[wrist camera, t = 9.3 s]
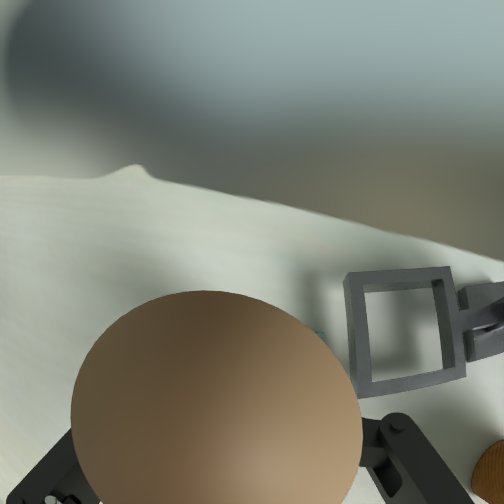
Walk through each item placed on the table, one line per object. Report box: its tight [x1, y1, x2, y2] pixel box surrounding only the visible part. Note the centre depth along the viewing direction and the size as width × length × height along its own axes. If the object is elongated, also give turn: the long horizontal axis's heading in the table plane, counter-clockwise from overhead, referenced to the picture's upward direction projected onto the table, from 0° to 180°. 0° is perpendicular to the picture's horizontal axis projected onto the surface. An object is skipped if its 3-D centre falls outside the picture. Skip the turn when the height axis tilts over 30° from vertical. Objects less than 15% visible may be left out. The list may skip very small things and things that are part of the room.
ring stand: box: [343, 266, 504, 399], centre depth 15 cm, size 18×9×16 cm, turn 90°
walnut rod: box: [71, 290, 363, 504], centre depth 12 cm, size 5×5×18 cm
